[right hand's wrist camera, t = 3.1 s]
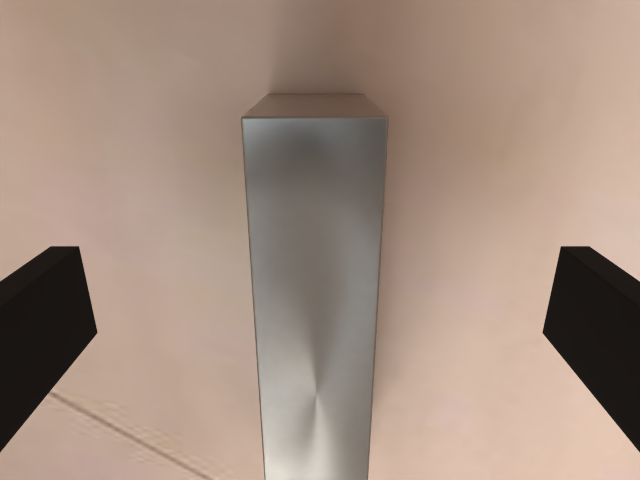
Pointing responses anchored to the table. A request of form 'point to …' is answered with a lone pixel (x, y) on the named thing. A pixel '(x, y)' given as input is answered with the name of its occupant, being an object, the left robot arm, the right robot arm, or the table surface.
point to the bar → (315, 277)
